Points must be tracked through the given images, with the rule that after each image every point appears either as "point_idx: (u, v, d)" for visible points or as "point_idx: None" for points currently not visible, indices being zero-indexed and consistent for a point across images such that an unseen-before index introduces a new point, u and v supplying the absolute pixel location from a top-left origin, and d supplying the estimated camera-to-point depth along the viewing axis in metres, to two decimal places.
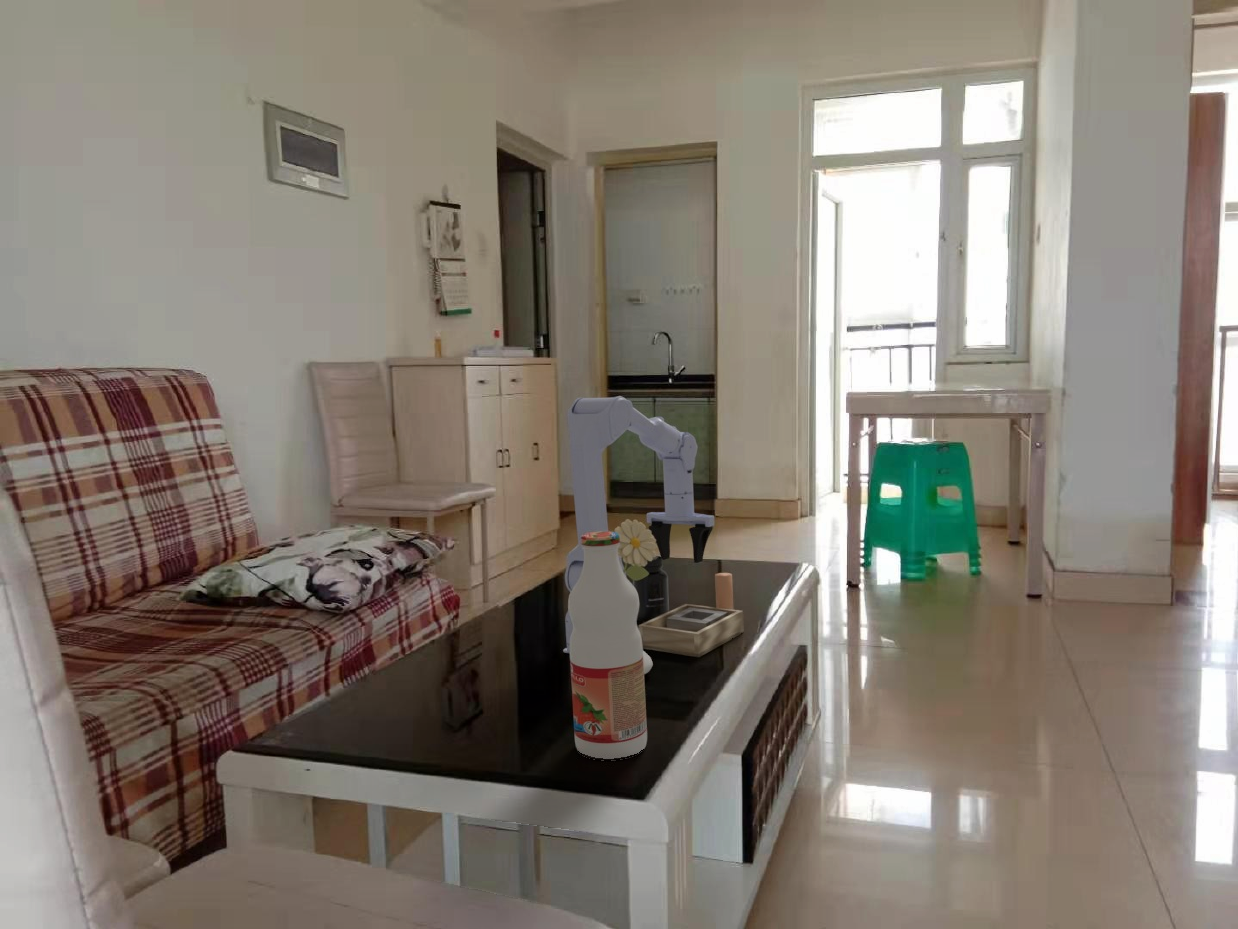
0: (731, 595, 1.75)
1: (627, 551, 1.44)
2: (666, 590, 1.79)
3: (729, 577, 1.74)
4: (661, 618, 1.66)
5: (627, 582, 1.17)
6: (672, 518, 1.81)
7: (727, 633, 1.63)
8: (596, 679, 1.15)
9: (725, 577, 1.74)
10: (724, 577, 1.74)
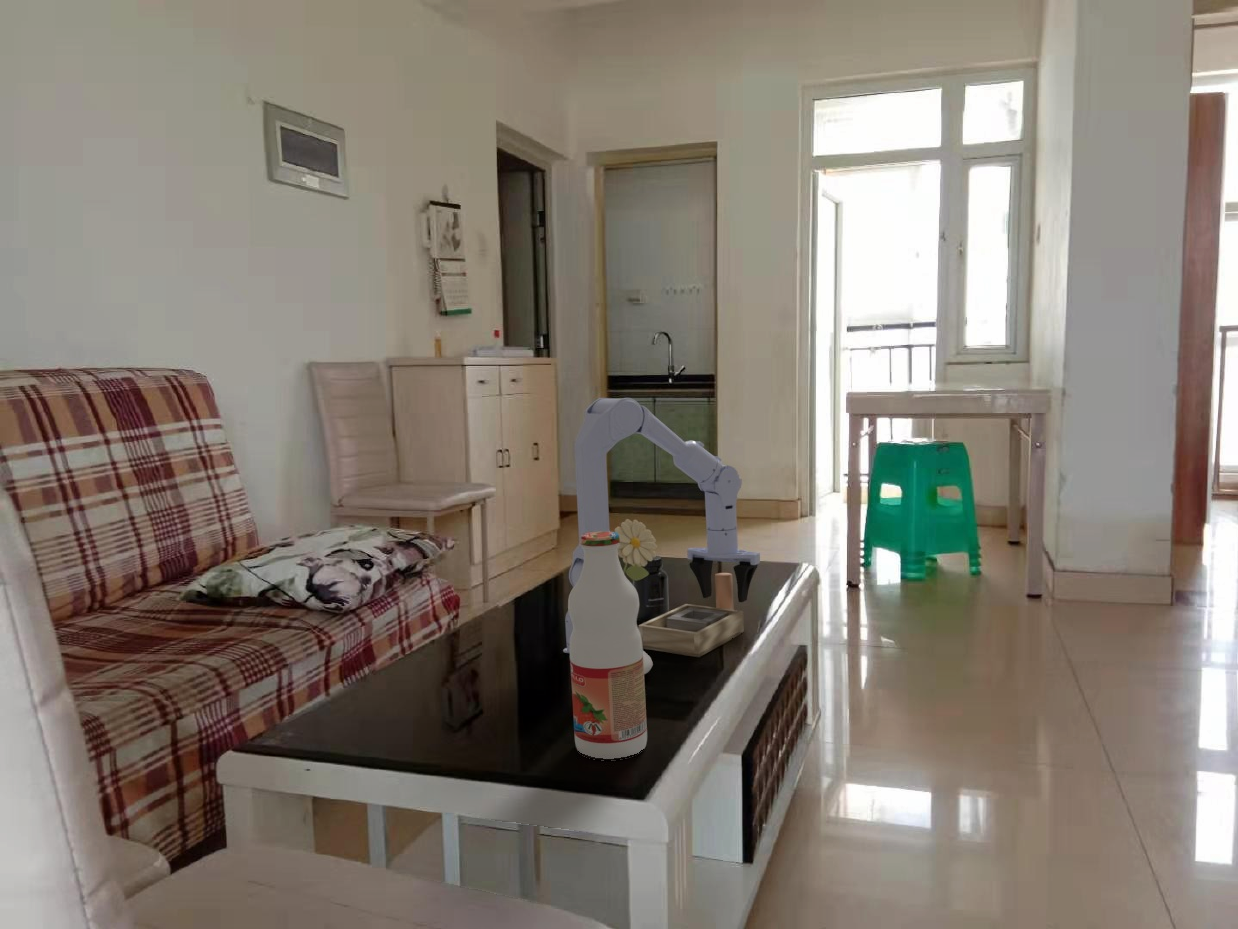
0: (731, 595, 1.75)
1: (627, 551, 1.44)
2: (666, 590, 1.79)
3: (729, 577, 1.74)
4: (661, 618, 1.66)
5: (627, 582, 1.17)
6: (715, 555, 1.72)
7: (727, 633, 1.63)
8: (596, 679, 1.15)
9: (725, 577, 1.74)
10: (724, 577, 1.74)
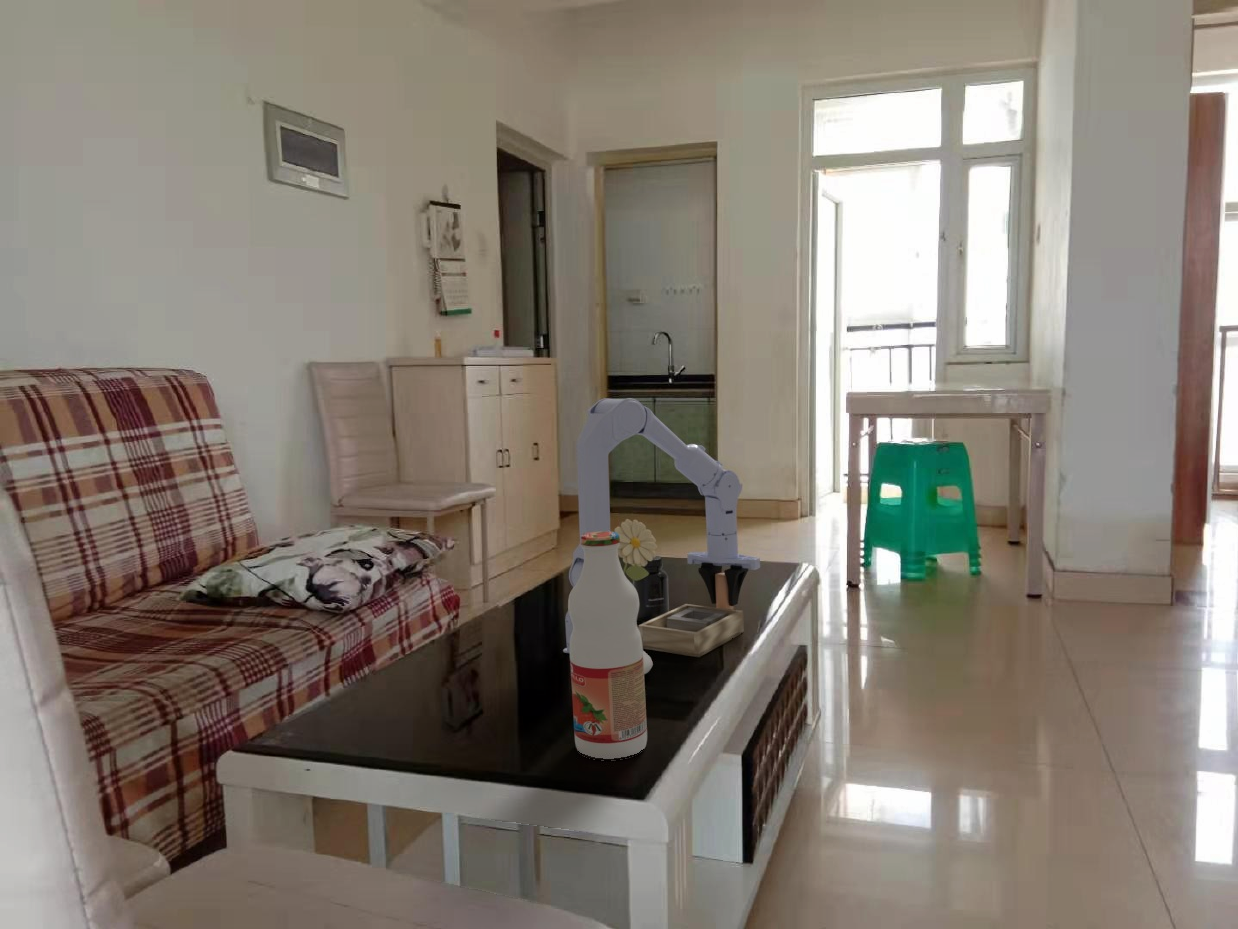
0: None
1: (627, 551, 1.44)
2: (666, 590, 1.79)
3: None
4: (661, 618, 1.66)
5: (627, 582, 1.17)
6: (715, 560, 1.72)
7: (727, 633, 1.63)
8: (596, 679, 1.15)
9: (725, 577, 1.74)
10: (724, 577, 1.74)
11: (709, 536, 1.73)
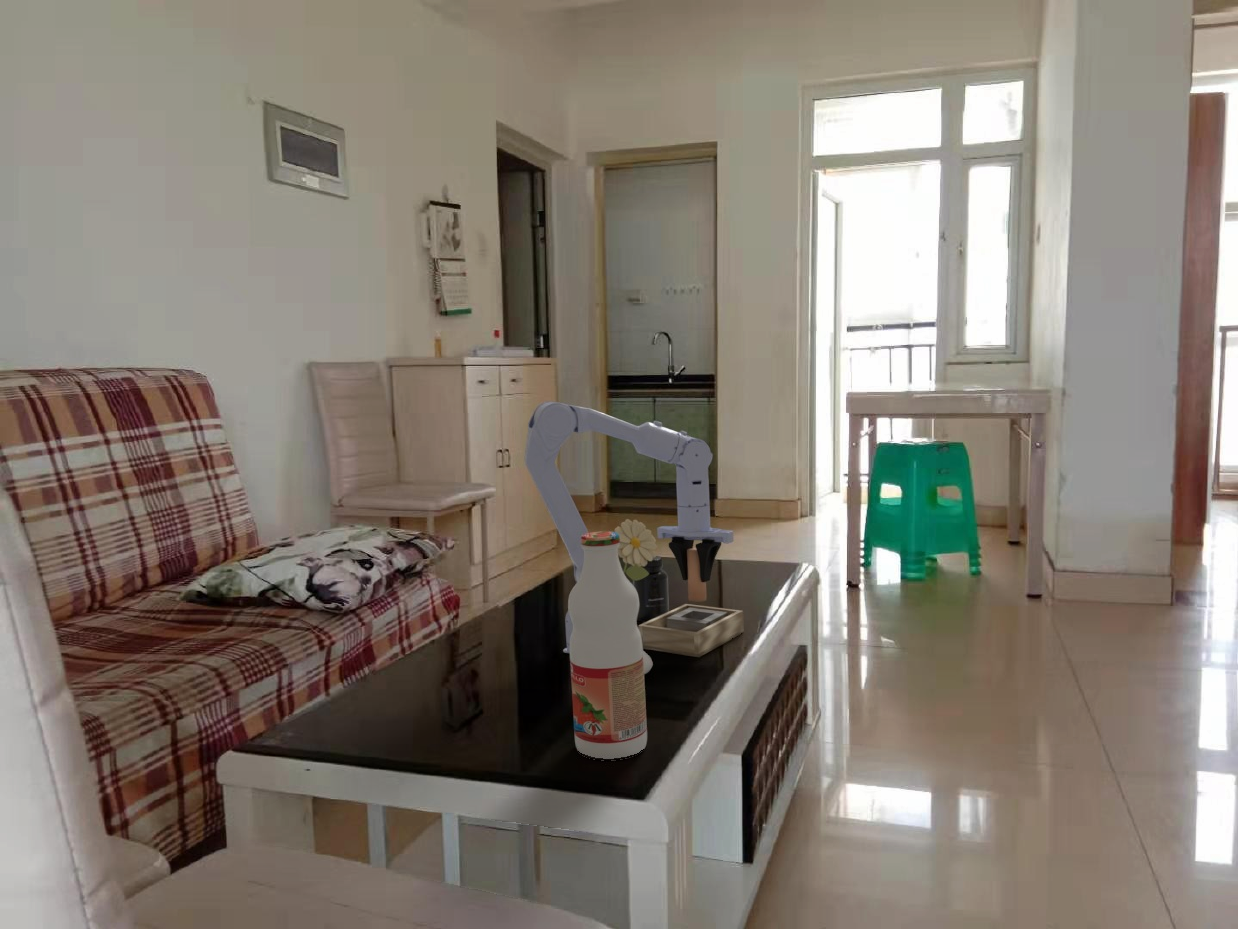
0: None
1: (627, 551, 1.44)
2: (666, 590, 1.79)
3: None
4: (661, 618, 1.66)
5: (627, 582, 1.17)
6: (686, 533, 1.63)
7: (727, 633, 1.63)
8: (596, 679, 1.15)
9: None
10: (696, 552, 1.64)
11: (680, 508, 1.63)
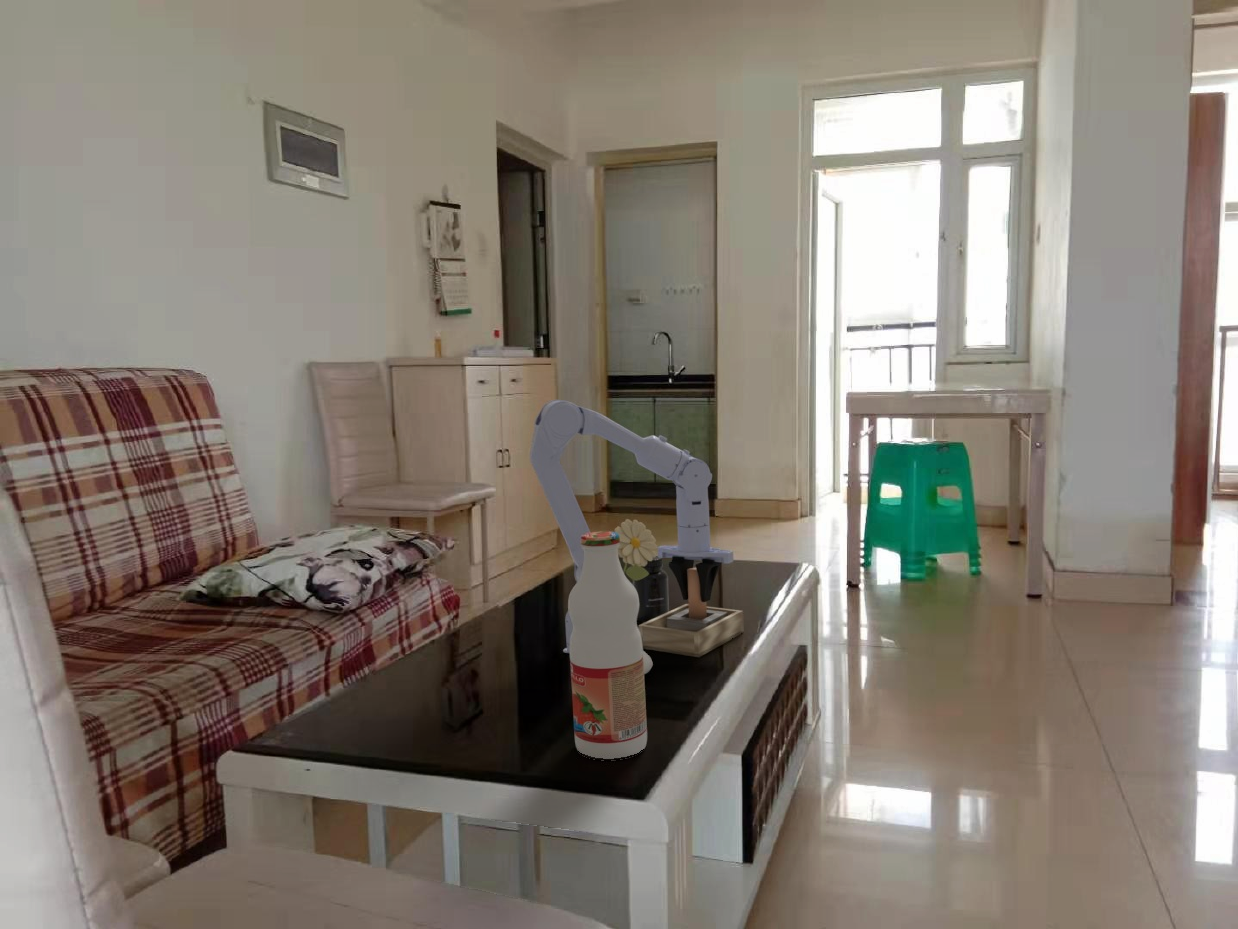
0: None
1: (627, 551, 1.44)
2: (666, 590, 1.79)
3: None
4: (661, 618, 1.66)
5: (627, 582, 1.17)
6: (686, 553, 1.63)
7: (727, 633, 1.63)
8: (596, 679, 1.15)
9: None
10: (697, 572, 1.64)
11: (680, 528, 1.63)
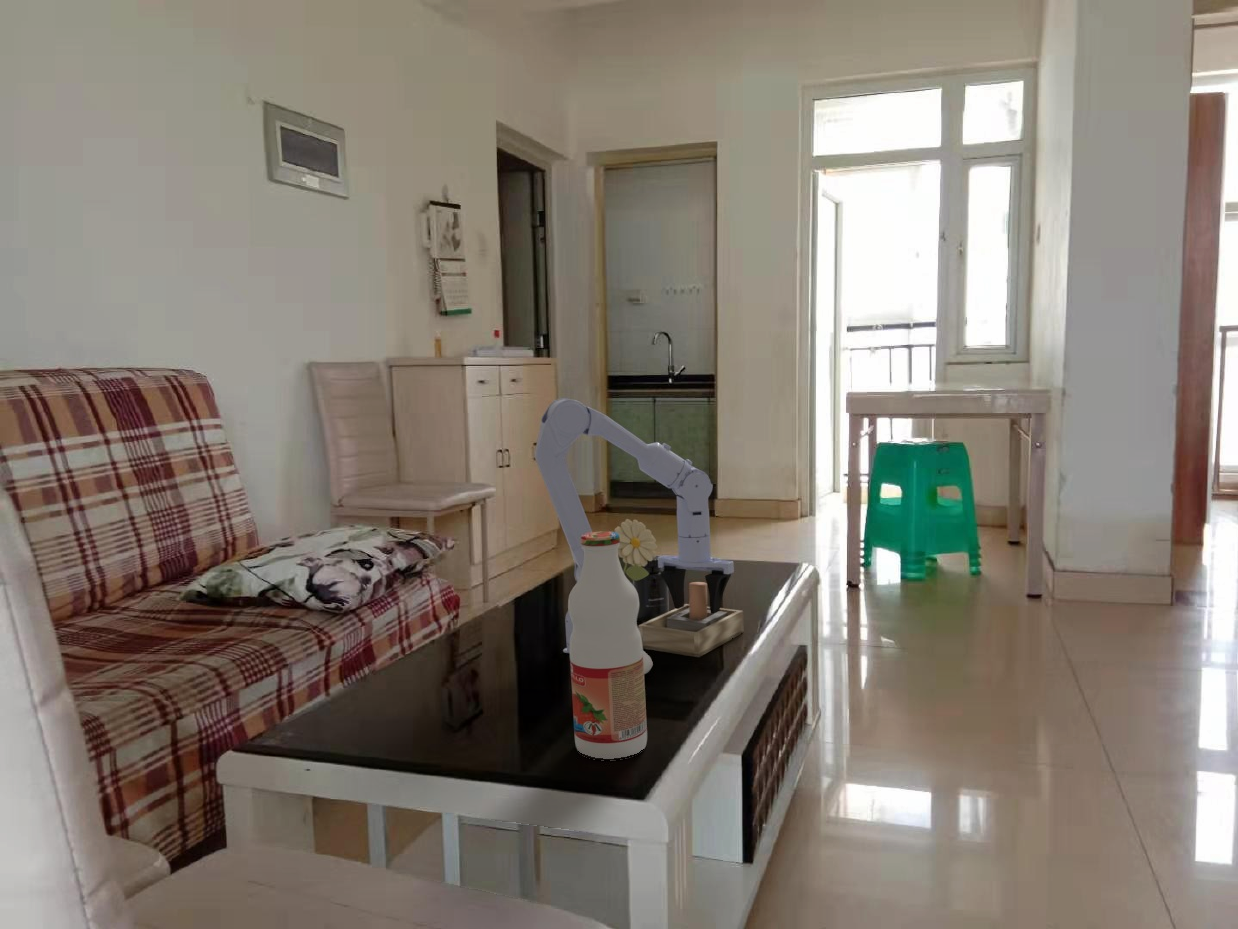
0: (705, 606, 1.66)
1: (627, 551, 1.44)
2: (666, 590, 1.79)
3: (704, 586, 1.65)
4: (661, 618, 1.66)
5: (627, 582, 1.17)
6: (686, 564, 1.63)
7: (727, 633, 1.63)
8: (596, 679, 1.15)
9: (700, 586, 1.65)
10: (699, 586, 1.65)
11: (680, 538, 1.64)
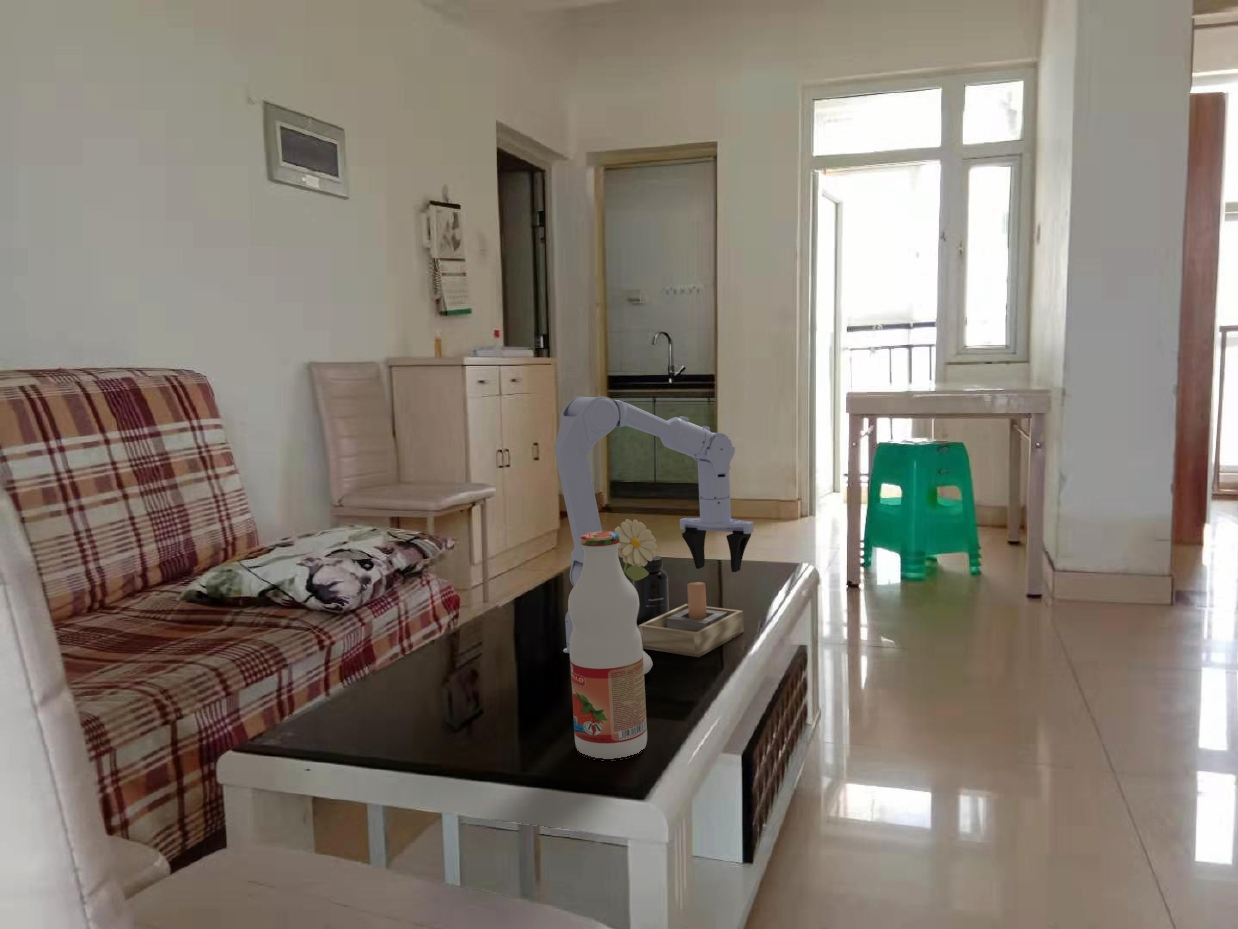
0: (704, 605, 1.66)
1: (627, 551, 1.44)
2: (666, 590, 1.79)
3: (702, 586, 1.65)
4: (661, 618, 1.66)
5: (627, 582, 1.17)
6: (708, 524, 1.70)
7: (727, 633, 1.63)
8: (596, 679, 1.15)
9: (698, 586, 1.65)
10: (697, 586, 1.65)
11: (702, 500, 1.70)
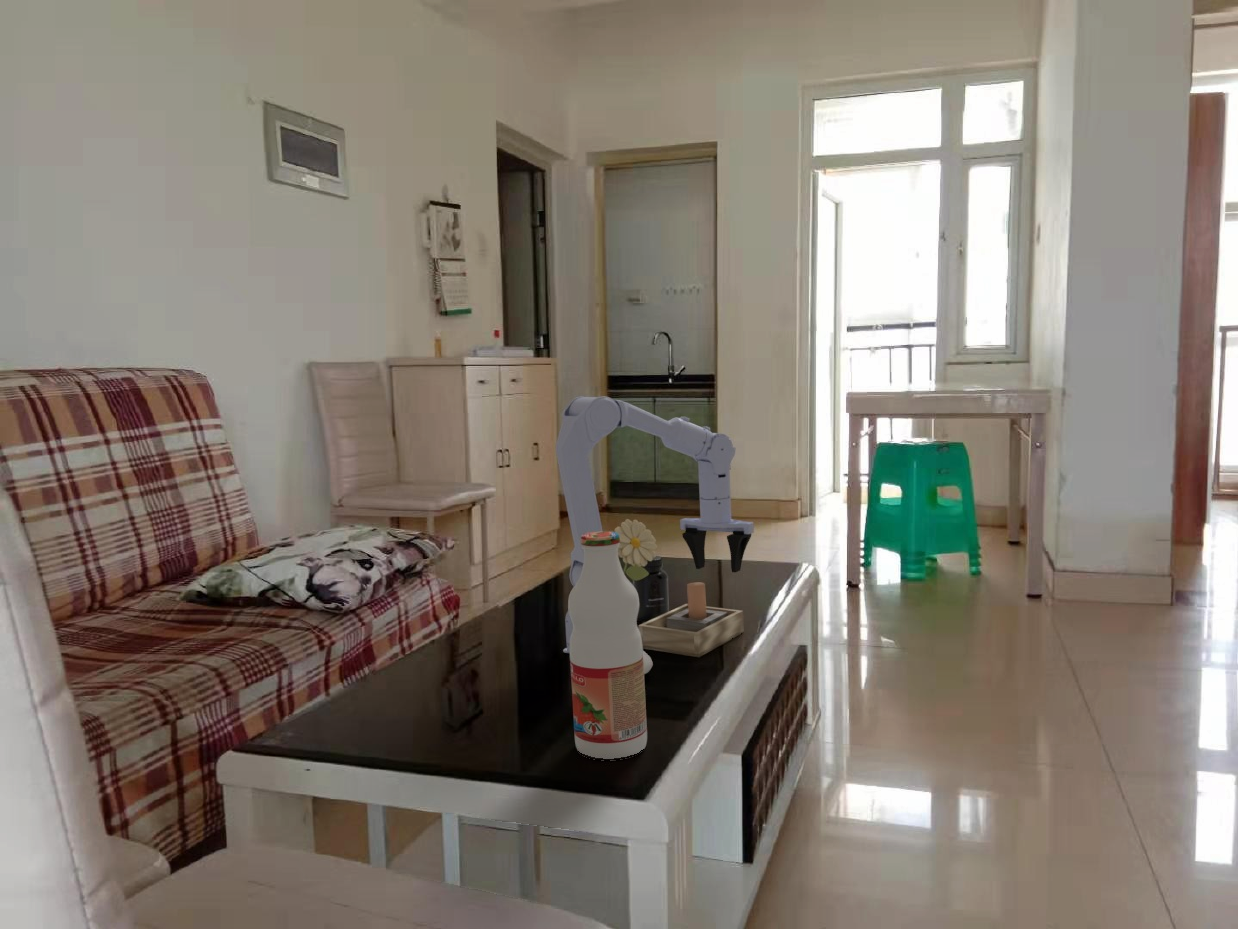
0: (704, 606, 1.65)
1: (627, 551, 1.44)
2: (666, 590, 1.79)
3: (702, 587, 1.65)
4: (661, 618, 1.66)
5: (627, 582, 1.17)
6: (708, 525, 1.70)
7: (727, 633, 1.63)
8: (596, 679, 1.15)
9: (698, 587, 1.64)
10: (697, 587, 1.64)
11: (702, 500, 1.71)
